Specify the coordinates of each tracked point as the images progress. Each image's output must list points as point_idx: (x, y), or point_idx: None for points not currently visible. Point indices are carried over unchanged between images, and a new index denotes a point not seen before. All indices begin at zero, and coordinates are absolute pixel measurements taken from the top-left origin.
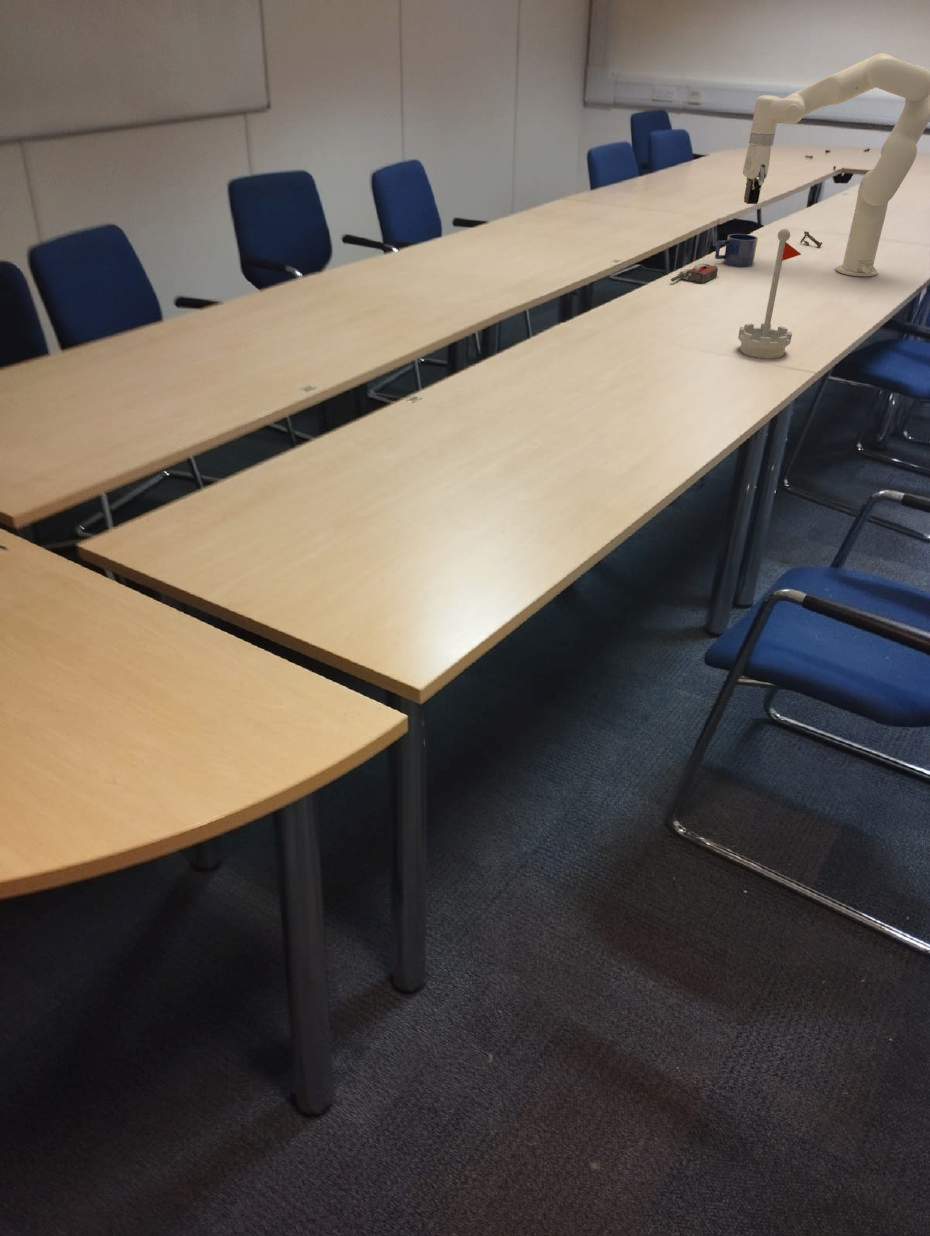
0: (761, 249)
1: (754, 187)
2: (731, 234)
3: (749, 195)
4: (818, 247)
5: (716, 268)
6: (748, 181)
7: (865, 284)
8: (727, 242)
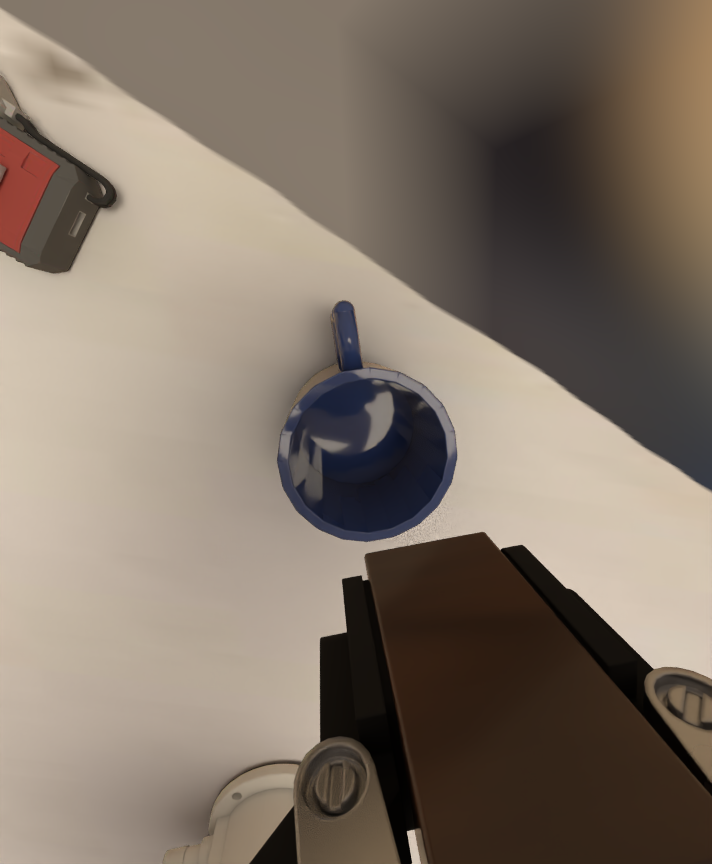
0: (606, 559)
1: (294, 821)
2: (437, 402)
3: (366, 628)
4: None
5: (16, 255)
6: (630, 811)
7: (106, 818)
8: (341, 364)
